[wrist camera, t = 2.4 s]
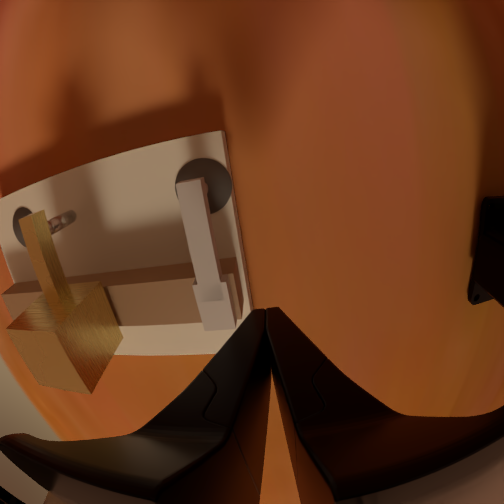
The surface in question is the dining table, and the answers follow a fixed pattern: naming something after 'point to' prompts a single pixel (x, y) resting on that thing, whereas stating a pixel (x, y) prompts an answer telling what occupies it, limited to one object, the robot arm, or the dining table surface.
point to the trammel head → (63, 316)
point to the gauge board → (144, 243)
